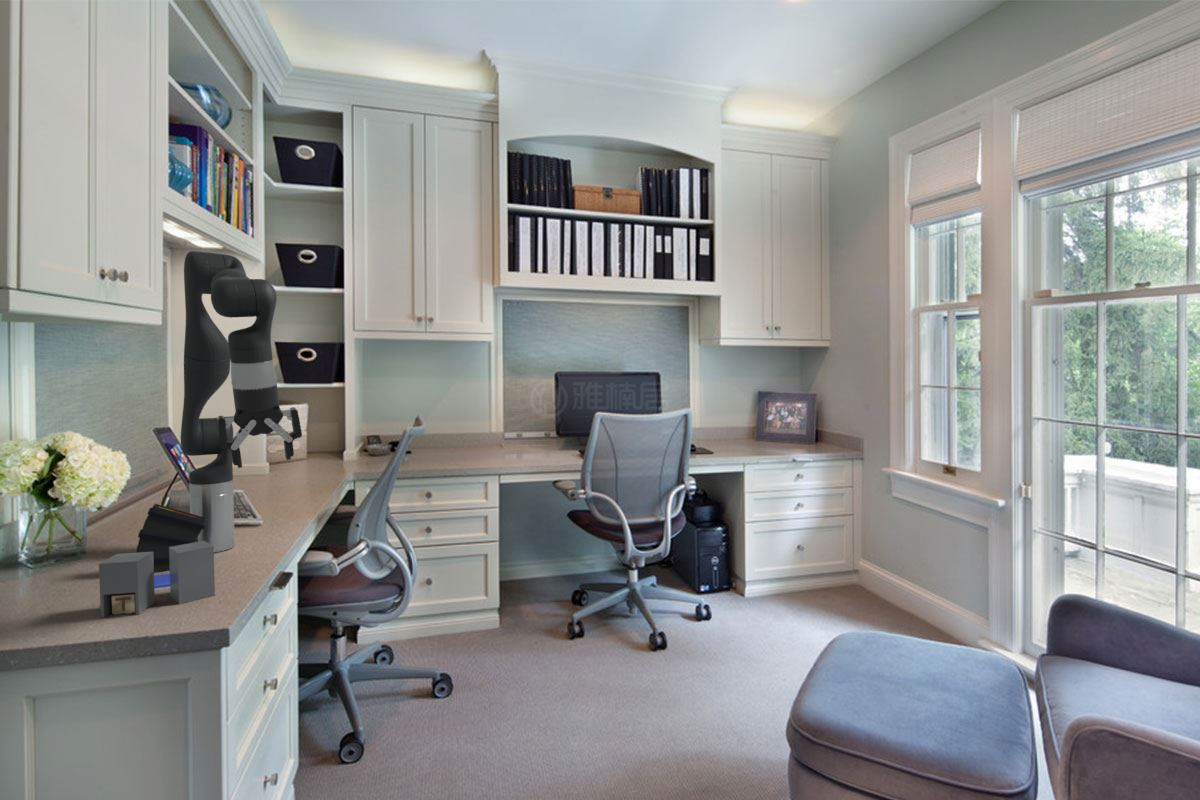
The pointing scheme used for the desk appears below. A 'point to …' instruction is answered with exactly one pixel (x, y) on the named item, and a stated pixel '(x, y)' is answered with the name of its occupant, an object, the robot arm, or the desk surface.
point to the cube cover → (127, 580)
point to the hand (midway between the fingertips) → (264, 462)
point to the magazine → (167, 533)
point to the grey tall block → (191, 571)
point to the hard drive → (161, 582)
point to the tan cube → (123, 603)
